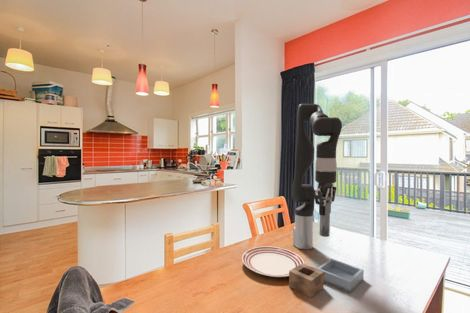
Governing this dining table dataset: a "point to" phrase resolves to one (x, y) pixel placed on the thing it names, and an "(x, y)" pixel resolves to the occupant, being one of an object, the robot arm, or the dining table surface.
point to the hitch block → (306, 280)
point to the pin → (325, 220)
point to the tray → (341, 275)
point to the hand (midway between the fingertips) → (324, 213)
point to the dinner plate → (271, 261)
